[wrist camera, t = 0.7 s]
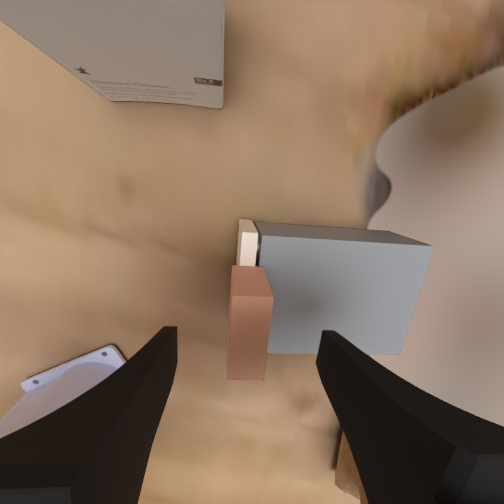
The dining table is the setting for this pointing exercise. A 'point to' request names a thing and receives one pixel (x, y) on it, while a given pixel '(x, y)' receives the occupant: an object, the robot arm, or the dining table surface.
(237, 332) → the white pull-out drawer
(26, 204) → the dining table surface
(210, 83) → the skincare box
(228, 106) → the dining table surface
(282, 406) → the dining table surface
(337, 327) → the carton
